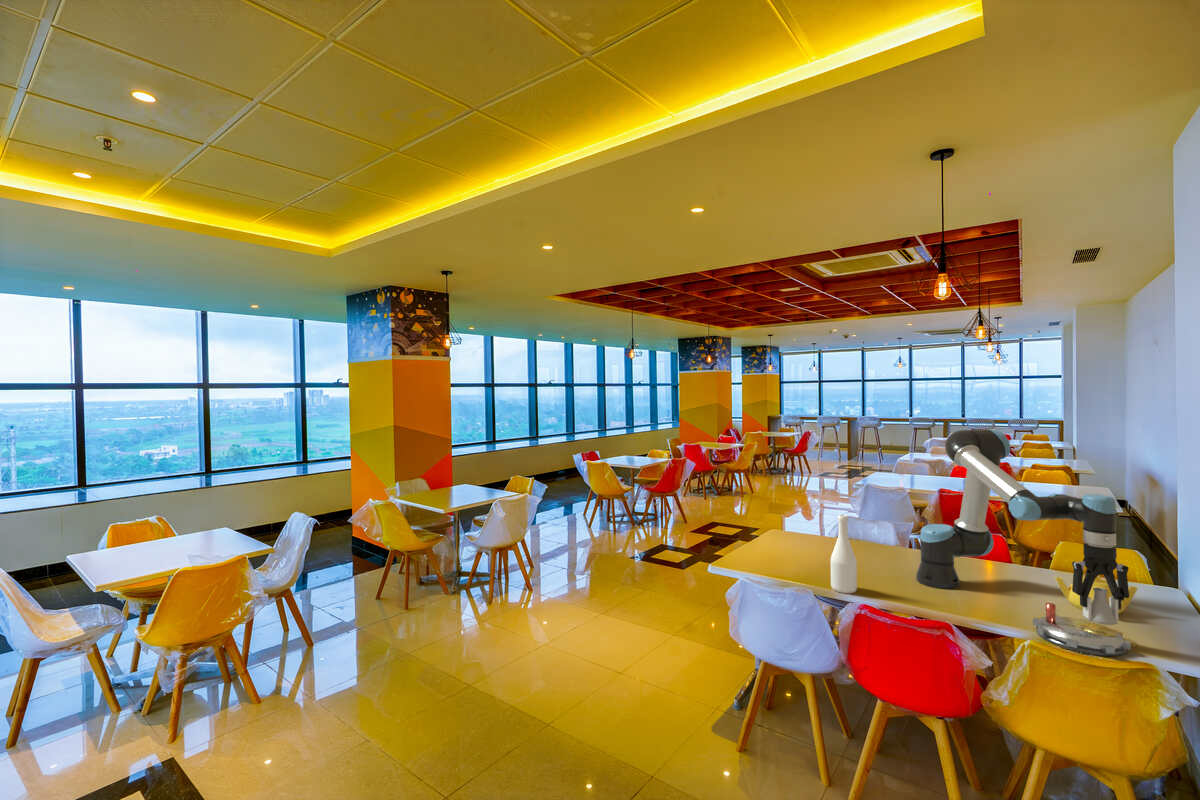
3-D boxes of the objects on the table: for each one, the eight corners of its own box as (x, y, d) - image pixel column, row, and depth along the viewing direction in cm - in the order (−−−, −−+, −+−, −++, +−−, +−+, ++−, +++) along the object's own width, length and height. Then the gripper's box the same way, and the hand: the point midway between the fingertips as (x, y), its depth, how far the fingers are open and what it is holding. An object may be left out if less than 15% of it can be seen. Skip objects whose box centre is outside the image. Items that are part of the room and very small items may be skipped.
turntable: (1124, 661, 150) (1124, 633, 150) (1024, 634, 168) (1024, 609, 167) (1135, 637, 164) (1135, 612, 164) (1042, 614, 182) (1042, 591, 182)
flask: (1078, 616, 168) (1078, 585, 167) (1099, 615, 168) (1099, 584, 168) (1101, 626, 160) (1101, 594, 160) (1123, 625, 161) (1123, 593, 161)
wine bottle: (860, 589, 211) (859, 515, 211) (852, 596, 204) (851, 519, 204) (835, 583, 218) (834, 511, 218) (827, 590, 211) (826, 515, 211)
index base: (1060, 652, 158) (1060, 648, 158) (1022, 622, 178) (1022, 619, 178) (1160, 661, 152) (1160, 657, 152) (1109, 629, 173) (1109, 625, 172)
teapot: (1104, 620, 180) (1103, 585, 180) (1052, 601, 196) (1051, 569, 196) (1139, 614, 184) (1139, 580, 184) (1085, 597, 200) (1085, 565, 200)
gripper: (1070, 546, 163) (1071, 620, 163) (1146, 549, 158) (1147, 626, 158) (1056, 540, 170) (1057, 610, 170) (1128, 543, 165) (1128, 615, 166)
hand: (1100, 617), depth 164 cm, fingers closed on flask, 6 cm apart
